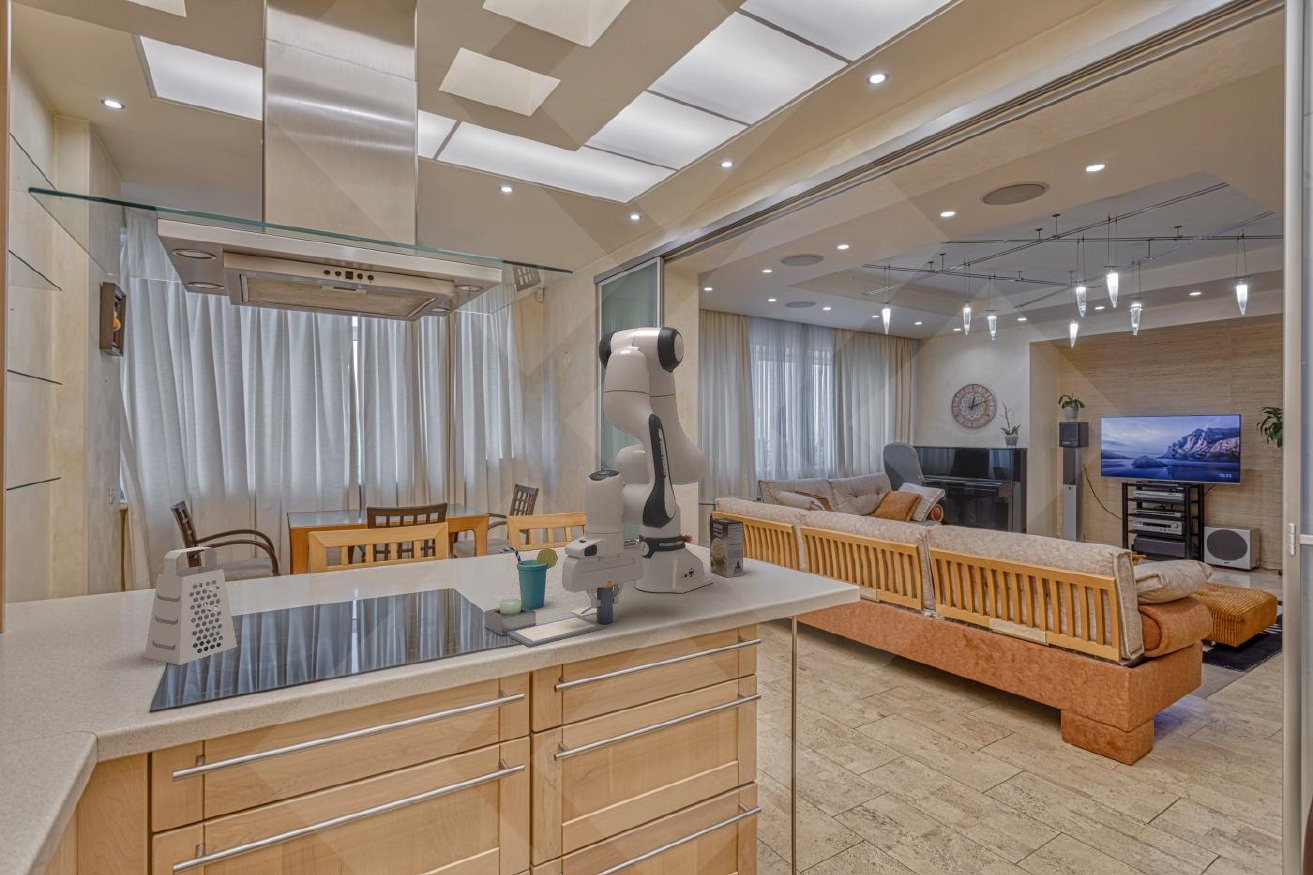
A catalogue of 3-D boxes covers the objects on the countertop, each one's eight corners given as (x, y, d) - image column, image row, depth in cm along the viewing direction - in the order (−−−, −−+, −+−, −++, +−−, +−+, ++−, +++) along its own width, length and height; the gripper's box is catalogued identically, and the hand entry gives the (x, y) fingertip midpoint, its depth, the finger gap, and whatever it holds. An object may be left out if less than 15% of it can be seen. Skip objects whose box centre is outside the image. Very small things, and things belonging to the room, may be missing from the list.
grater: (237, 646, 123) (236, 546, 123) (179, 665, 113) (178, 556, 113) (202, 640, 127) (201, 543, 127) (144, 657, 117) (143, 552, 117)
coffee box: (708, 572, 187) (708, 519, 187) (726, 569, 191) (725, 517, 190) (727, 578, 179) (726, 522, 179) (744, 575, 183) (744, 521, 182)
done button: (514, 615, 137) (514, 598, 137) (524, 620, 134) (524, 602, 134) (496, 619, 134) (496, 601, 134) (505, 624, 131) (505, 605, 131)
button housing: (518, 619, 140) (518, 604, 140) (535, 628, 134) (535, 611, 134) (485, 626, 135) (485, 610, 135) (501, 636, 129) (501, 619, 129)
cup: (501, 614, 144) (501, 550, 144) (497, 605, 152) (497, 544, 151) (561, 607, 149) (560, 545, 149) (554, 599, 157) (553, 540, 157)
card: (591, 607, 149) (591, 605, 149) (602, 611, 146) (602, 610, 146) (569, 612, 146) (569, 610, 146) (581, 616, 142) (581, 615, 142)
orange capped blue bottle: (606, 618, 141) (606, 576, 141) (616, 621, 138) (616, 579, 138) (593, 621, 138) (592, 579, 138) (602, 625, 135) (602, 582, 135)
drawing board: (578, 618, 141) (578, 615, 141) (604, 628, 133) (604, 625, 133) (506, 634, 129) (506, 631, 129) (529, 647, 122) (529, 643, 122)
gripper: (632, 536, 147) (632, 594, 147) (558, 547, 134) (558, 610, 134) (649, 540, 142) (649, 600, 142) (573, 551, 129) (574, 617, 129)
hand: (604, 605), depth 138 cm, fingers closed on orange capped blue bottle, 4 cm apart
